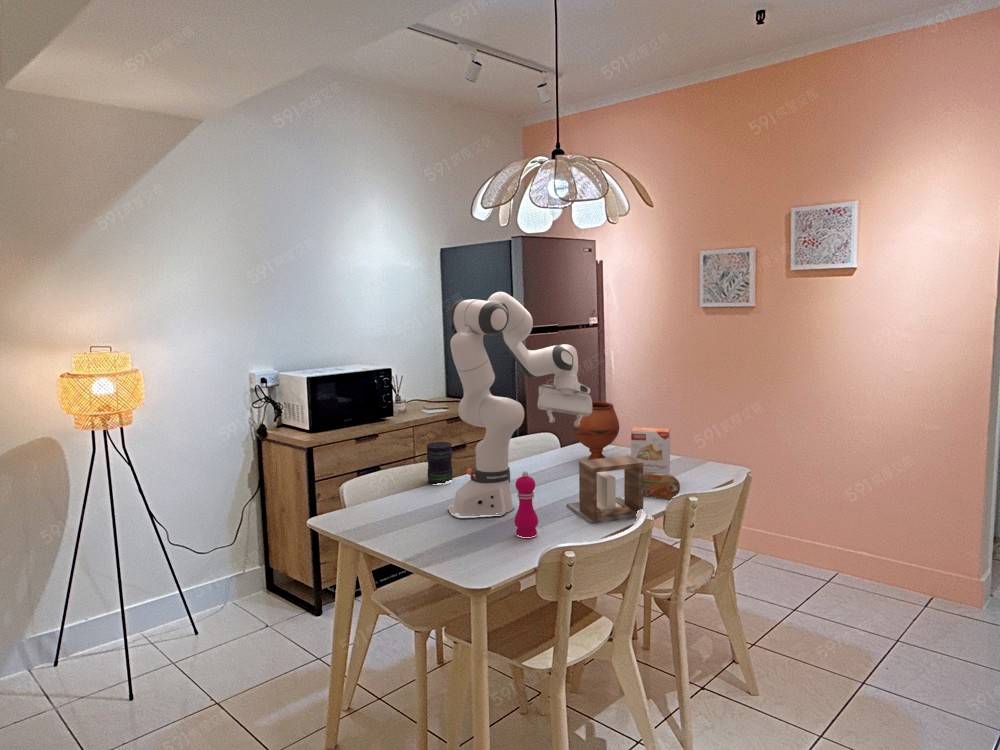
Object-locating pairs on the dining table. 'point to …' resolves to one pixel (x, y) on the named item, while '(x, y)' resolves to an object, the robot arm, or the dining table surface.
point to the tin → (660, 486)
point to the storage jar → (439, 462)
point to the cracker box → (651, 449)
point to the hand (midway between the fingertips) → (564, 424)
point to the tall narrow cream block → (606, 492)
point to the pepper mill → (525, 507)
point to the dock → (629, 503)
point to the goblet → (598, 428)
